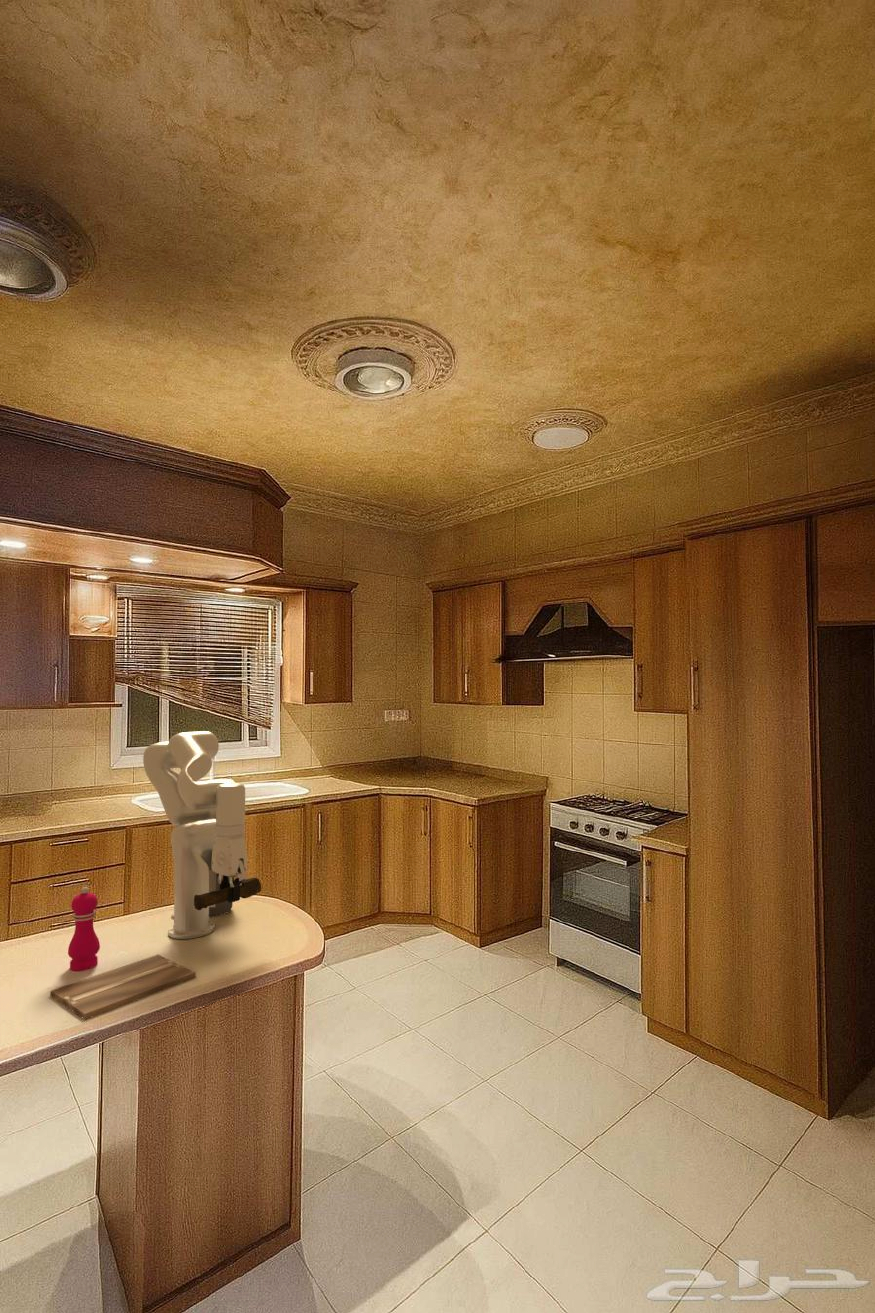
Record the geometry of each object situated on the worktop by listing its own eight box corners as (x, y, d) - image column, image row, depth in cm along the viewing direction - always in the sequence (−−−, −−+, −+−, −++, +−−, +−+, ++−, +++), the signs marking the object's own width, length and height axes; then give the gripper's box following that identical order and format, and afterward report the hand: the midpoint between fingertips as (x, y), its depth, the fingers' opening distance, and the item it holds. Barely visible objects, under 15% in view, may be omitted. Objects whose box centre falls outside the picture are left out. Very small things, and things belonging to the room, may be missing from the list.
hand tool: (199, 912, 167) (200, 894, 167) (192, 908, 170) (193, 890, 170) (266, 895, 181) (266, 878, 181) (258, 892, 184) (258, 875, 184)
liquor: (219, 905, 216) (219, 812, 217) (235, 910, 210) (236, 815, 211) (194, 912, 209) (194, 816, 210) (210, 918, 203) (210, 820, 204)
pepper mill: (94, 958, 174) (95, 881, 175) (103, 966, 169) (104, 886, 170) (63, 966, 169) (65, 887, 170) (72, 975, 164) (73, 893, 165)
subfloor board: (50, 996, 153) (50, 990, 153) (158, 959, 173) (158, 954, 173) (84, 1019, 141) (84, 1013, 141) (195, 977, 162) (195, 972, 162)
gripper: (200, 828, 179) (199, 897, 178) (236, 837, 168) (235, 910, 168) (225, 823, 184) (224, 890, 184) (260, 832, 174) (260, 902, 173)
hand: (229, 899), depth 176 cm, fingers closed on hand tool, 3 cm apart
